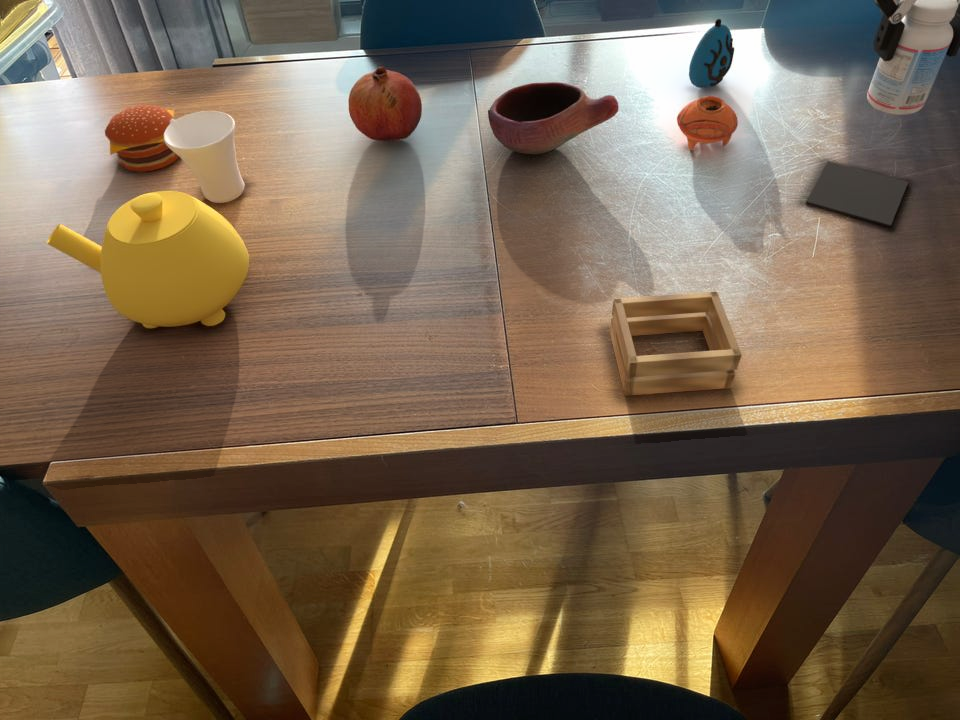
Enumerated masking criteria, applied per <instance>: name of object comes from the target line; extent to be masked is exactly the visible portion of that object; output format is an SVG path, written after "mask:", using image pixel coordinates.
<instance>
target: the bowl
mask: <svg viewBox="0 0 960 720" xmlns="http://www.w3.org/2000/svg"><path fill="white" fill-rule="evenodd" d="M619 107H620V106H619V102H618V99H617V98H616V97H615V95H611V94H607V95H604V96H602V97H599V98H595V99H594V98H590V97H589V96H587V94H586V93H585V91H584V90H583V89H581V88H580V87H577V86H575V85H572V84H569V83H566V82H558V81H549V82H548V81H547V82H531V83H527V84H522V85H519V86H515V87H513V88H510V89H508V90H506V91H505V92H503V93H502V94H501V95H500V96H498V97H497V98H496V99H495V100H494V101H493V103H492V104H491V106H490V108H489V109H487V118H488V122H489V126H490V129H491V131H492V134H493V136H494V137H495V138H496V140H497V141H498V142H499V143H500V144H501V145H502V146H503V147H505V148H507V149H508V150H510V151H511V152H512V151H513V152H515V153H518V154H519V153H520V154H525V155H541V154H545V153H548V152H551V151H553V150H555V149H557V148H559V147H561V146H563V145H564V144H566V143H568V142H569V141H570V140H572V139H574V138H576V137H578V136H579V135H581V134H583V133H584V132H587V131H589V130H591V129H593V128H595V127H596V126H599V125H601V124H603V123H604V122H607V121H609V120H611V119H612V118H613V117H614V116H616V115H617V113H618V112H619Z"/></svg>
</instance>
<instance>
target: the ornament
mask: <svg viewBox="0 0 960 720" xmlns="http://www.w3.org/2000/svg"><path fill="white" fill-rule="evenodd" d="M733 42H734V38H733V36H732V33H731V30H730V28H729V26H728V25H726V24H724V23H722V19H721V18H717V19H715V22H714V25H713V26H711V27H710V28H709V29H708V30H707V31H706V32H705V33H704V35H703V36H702V37H701V39H700V40H699V42H698V44H697V46H696V47H695V49H694V51H693V53H692V56H691V59H690V62H689V68H688V78H689V80H690V83H691V84H692V85H693V86H694V87H696V88H699V89H706V88H708V87H709V88H710V87H716V86H717V85H719V84H720V83H721V82H722V81H723V79H724V77H725V76H726V75H727V73H728V72H729V71H730V69H731V67H732V63H733V59H734V54H735V47H734V46H733Z"/></svg>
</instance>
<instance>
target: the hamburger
mask: <svg viewBox="0 0 960 720" xmlns="http://www.w3.org/2000/svg"><path fill="white" fill-rule="evenodd" d="M174 116H175V111H174V110H173V109H166V108H165V107H162V106H157V105H149V104H141V105H136V106H131V107H128V108H125V109H123V110H121V111H120V112H117V114H115V115H113V116H112V117H111V119H110V120H109V122H108V124H107V125H106V127H105V129H104V136H105V137H106V139H108V141H109V155H111V156H112V155H114V154H117V159H118V160H119V162H120V165H121V167H123V168H125V169H126V170H128V171H132V172H138V173H144V172H151V171H152V172H153V171H156V170H159V169H163V168H167V166H169V165H171V164H173V163H175V162H176V161H177V160H178V159H180V157H179V156H178V155H177V154H176V153H175V152H173V151H172V150H171V149H170V148H169V147H168V146H167V145H166V144H165V141H164V132H165V130H166V128H167V127H168V126H169V125H170V120H171V119H175V117H174Z"/></svg>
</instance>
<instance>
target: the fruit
mask: <svg viewBox="0 0 960 720" xmlns="http://www.w3.org/2000/svg"><path fill="white" fill-rule="evenodd" d="M348 113H349V117H350V119H351V121H352V123H353V124H354V126H355V128H356V130H358V131H359V132H360V133H361V134H362V135H363V136H365V137H366V138H368V139H370V140H373V141H377V142H389V141H400V140H405V139H407V138H409V137H410V136H411V135H412V134H413V133H414V131H415V130H416V129H417V127H418V125H419V123H420V121H421V118H422V116H423V115H422V114H423V104H422V98H421V96H420V93H419V91H418V89H417V87H416V86H415V84H414V83H413V81H412V80H410V78H409V77H407V76H406V75H403V74H402V73H400V72H398V71H393V70H389V69H386V68H385V67H384V66H379V67H378V68H376V69H375V71H373V72H369V73H365V74H363V76H361V77H360V78H359V79H357V80H356V81H355V83H354V85H353V86H352V87H351V89H350V91H349V95H348Z"/></svg>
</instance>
